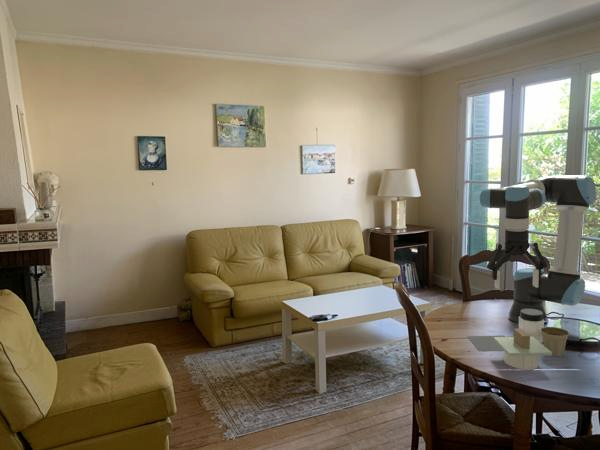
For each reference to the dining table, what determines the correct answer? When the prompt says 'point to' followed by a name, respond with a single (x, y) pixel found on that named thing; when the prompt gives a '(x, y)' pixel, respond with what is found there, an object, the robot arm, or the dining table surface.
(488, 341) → the mat
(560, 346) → the flower pot
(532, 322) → the jar
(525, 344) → the lid
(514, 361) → the bowl
